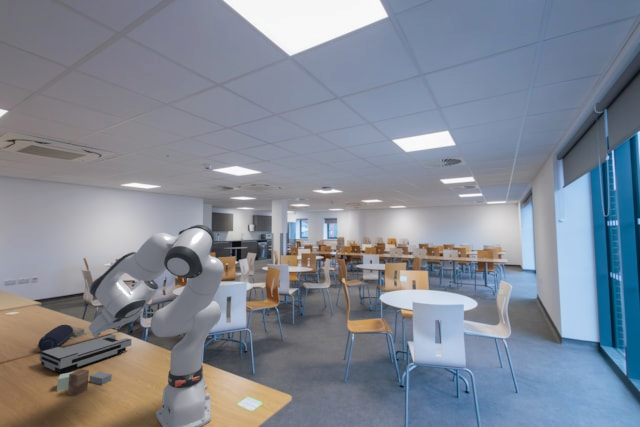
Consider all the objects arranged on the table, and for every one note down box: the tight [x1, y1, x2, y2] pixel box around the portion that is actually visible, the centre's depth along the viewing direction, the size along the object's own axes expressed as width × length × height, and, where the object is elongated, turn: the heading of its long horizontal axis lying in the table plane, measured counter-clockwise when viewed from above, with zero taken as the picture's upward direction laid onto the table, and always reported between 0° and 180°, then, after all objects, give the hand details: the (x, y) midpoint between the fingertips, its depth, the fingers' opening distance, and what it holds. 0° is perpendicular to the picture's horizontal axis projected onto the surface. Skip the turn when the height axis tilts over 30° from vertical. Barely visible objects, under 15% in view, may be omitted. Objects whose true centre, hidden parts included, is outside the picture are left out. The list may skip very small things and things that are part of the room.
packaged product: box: [69, 326, 88, 340], centre depth 186 cm, size 18×5×10 cm
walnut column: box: [67, 368, 90, 397], centre depth 118 cm, size 4×4×8 cm
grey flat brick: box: [88, 371, 112, 386], centre depth 127 cm, size 8×4×3 cm, turn 72°
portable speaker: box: [37, 324, 73, 351], centre depth 168 cm, size 25×10×10 cm, turn 25°
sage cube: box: [56, 371, 74, 392], centre depth 122 cm, size 5×5×5 cm
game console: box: [39, 333, 133, 374], centre depth 150 cm, size 21×32×8 cm, turn 154°
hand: (106, 331), depth 117 cm, fingers open, 8 cm apart
